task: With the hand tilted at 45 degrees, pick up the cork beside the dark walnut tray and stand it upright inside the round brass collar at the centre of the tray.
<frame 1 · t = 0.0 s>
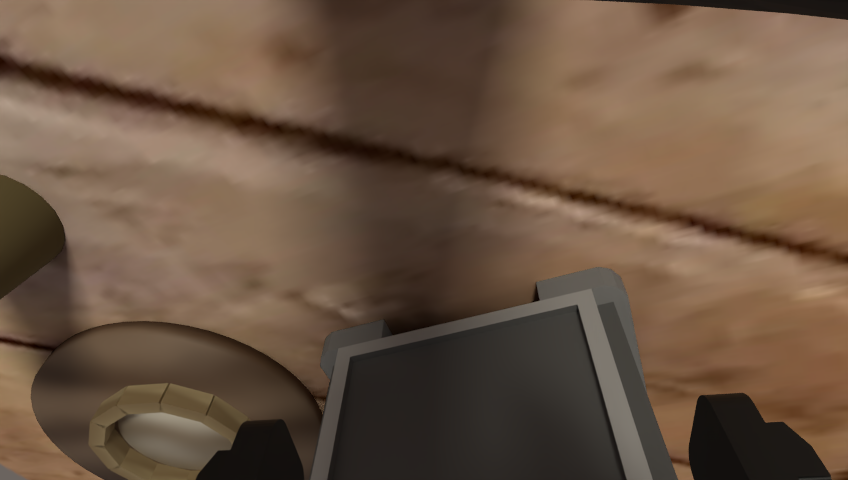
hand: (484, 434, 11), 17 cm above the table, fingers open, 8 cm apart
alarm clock: (488, 369, 36), on the table
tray: (188, 420, 40), on the table
cork: (8, 218, 30), on the table
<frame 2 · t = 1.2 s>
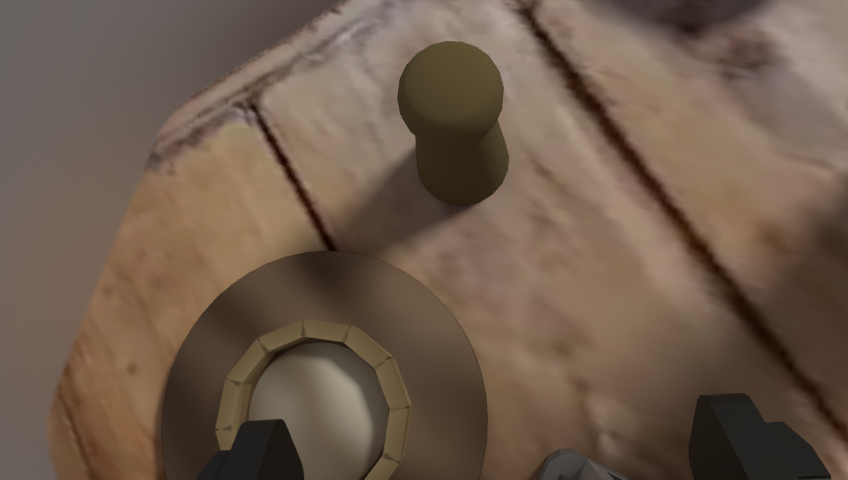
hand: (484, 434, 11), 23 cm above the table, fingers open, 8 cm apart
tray: (324, 414, 34), on the table
cork: (462, 161, 36), on the table
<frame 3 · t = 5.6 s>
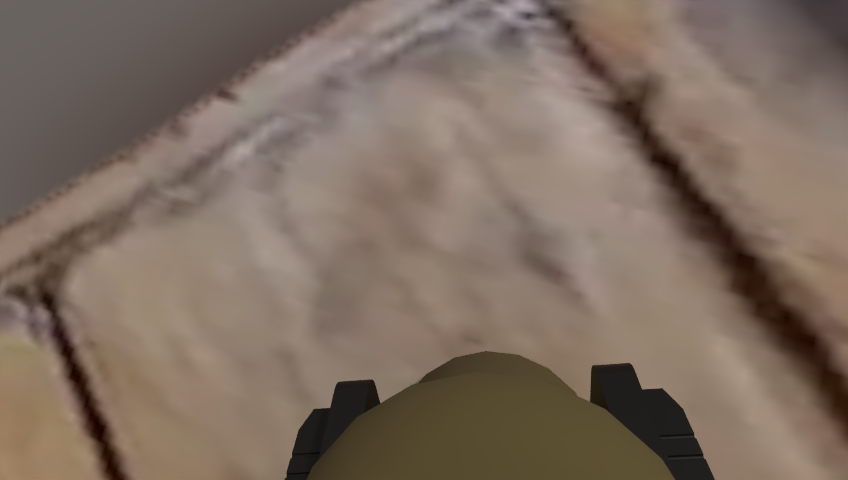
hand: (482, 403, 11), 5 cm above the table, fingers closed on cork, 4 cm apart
cork: (493, 458, 16), on the table, touching gripper
when the fingers open (7 cm above the table, at t = 11.8 s): cork stays where it is, resting on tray.
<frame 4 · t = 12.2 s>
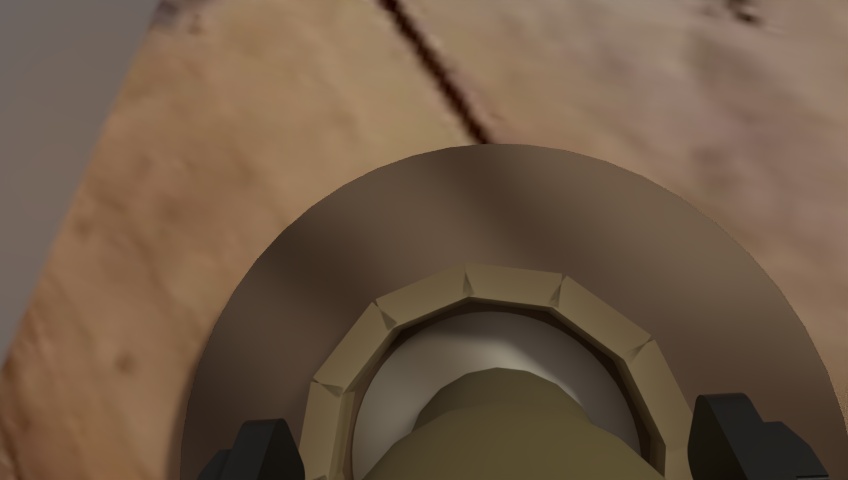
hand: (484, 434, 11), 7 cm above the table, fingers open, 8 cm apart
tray: (492, 448, 18), on the table
cork: (503, 470, 16), point 1 cm above the table, touching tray
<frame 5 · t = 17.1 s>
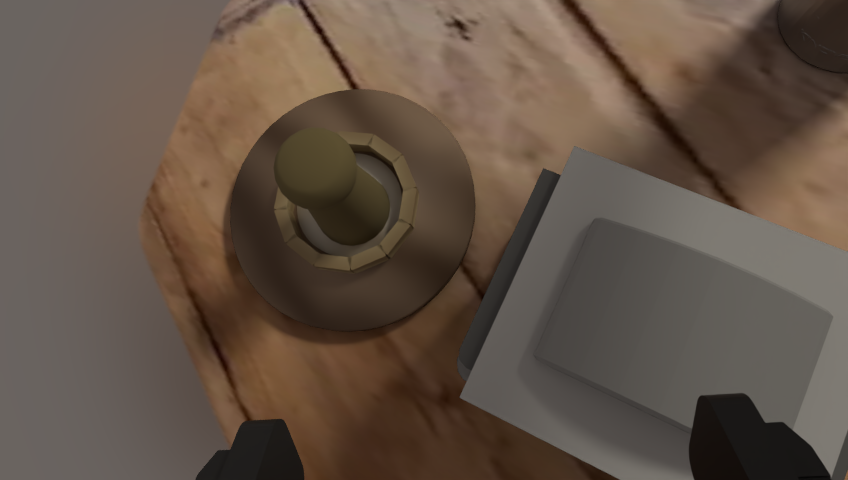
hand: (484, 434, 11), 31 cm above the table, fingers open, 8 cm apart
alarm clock: (603, 346, 40), on the table
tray: (353, 208, 45), on the table
cork: (353, 209, 44), point 1 cm above the table, touching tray
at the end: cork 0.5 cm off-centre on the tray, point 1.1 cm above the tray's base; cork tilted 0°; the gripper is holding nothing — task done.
